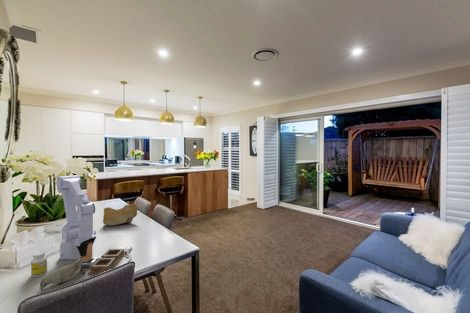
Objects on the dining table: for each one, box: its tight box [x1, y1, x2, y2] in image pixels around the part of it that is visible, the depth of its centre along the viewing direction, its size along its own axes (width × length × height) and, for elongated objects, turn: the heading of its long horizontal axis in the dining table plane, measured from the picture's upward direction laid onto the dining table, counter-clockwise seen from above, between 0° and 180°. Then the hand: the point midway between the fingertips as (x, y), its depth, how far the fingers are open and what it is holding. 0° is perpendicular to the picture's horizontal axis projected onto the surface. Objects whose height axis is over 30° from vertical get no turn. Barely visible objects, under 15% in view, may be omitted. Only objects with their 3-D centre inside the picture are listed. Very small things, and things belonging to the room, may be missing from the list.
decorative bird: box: [39, 259, 87, 291], centre depth 96 cm, size 5×16×8 cm, turn 142°
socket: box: [80, 256, 99, 270], centre depth 111 cm, size 8×8×2 cm
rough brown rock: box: [102, 203, 138, 227], centre depth 172 cm, size 23×17×15 cm
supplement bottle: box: [30, 250, 48, 278], centre depth 101 cm, size 5×5×10 cm
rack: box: [87, 248, 127, 275], centre depth 112 cm, size 9×20×3 cm, turn 5°
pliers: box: [123, 246, 133, 263], centre depth 120 cm, size 10×2×15 cm
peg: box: [78, 242, 93, 263], centre depth 110 cm, size 4×4×8 cm
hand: (85, 253), depth 110 cm, fingers closed on peg, 4 cm apart
